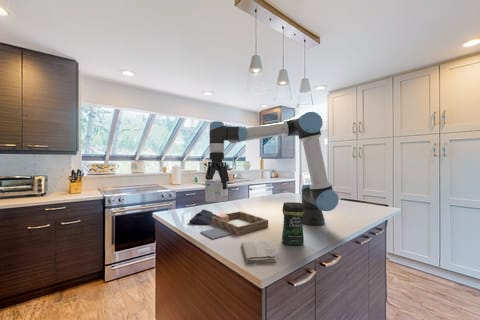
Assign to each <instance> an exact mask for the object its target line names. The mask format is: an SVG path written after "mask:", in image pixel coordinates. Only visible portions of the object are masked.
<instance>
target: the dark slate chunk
mask: <svg viewBox="0 0 480 320" xmlns="http://www.w3.org/2000/svg"><path fill="white" fill-rule="evenodd" d="M213 216H217V214H214V213H213V212H212V211H210V210H207V209H204V208H203V209H202V210H201V211H200V212H198V213H196V214H195V215H194V216H193V217H191V218H190V220H189V221H188V222H189V223H190V224H192V223H193V224H192V225H194V224H196V225H203V226H210V225H212V217H213Z"/></svg>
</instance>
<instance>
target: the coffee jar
mask: <svg viewBox="0 0 480 320" xmlns="http://www.w3.org/2000/svg"><path fill="white" fill-rule="evenodd" d="M281 210H282V214H283V226H282V233H281V235H282V236H281V240H282V241H281V242H282V243H283V244H285V245H287V246H302V245H304V241H305V240H304V229H303V223H302V217H303V214H304V207H303V204H302V202H296V201H295V202H293V201H292V202H290V201H288V202H283V204H282V209H281Z"/></svg>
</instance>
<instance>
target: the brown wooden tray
mask: <svg viewBox="0 0 480 320" xmlns="http://www.w3.org/2000/svg"><path fill="white" fill-rule="evenodd" d="M224 214H225V215H228V216H229V221H232V220H236V219H242V220H245V221H246V222H247V221H248V222H250V223H249V224H244V225H239V226H238V225H235V224H233V223H230V222H229V223H228V222H225V221H223V220H220V219H218V218H217V216H213V217H212V223H211V225H215V226H216V227H217V228H219V227H220V228H223V229H225V230H227V231H229V232H231V233H233V235H237V236H240V235H244V234H248V233H252V232H256V231H259V230H263V229H266V228H269V219H266V218H263V217H260V216H258V215H257V216H256V215H253V214H249V213H246V212H243V211H240V210H239V211H236V212H229V213H224Z"/></svg>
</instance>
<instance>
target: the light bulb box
mask: <svg viewBox="0 0 480 320" xmlns="http://www.w3.org/2000/svg"><path fill="white" fill-rule="evenodd" d="M204 183H205V184H204V187H205V191H204V192H205V193H204V194H205V195H204V197H205V199H204V200H205V202H209V203H210V202H213V203H214V202H216V203H217V202H218V203H220V202H222V203H225V202H227V201H228V197H229V196H228V195H229V194H228V193H229V191H228V189H229V187H228V186H229V185H228V182H227V183H226V196H221V179H213V180H210V179H208V180H207V179H205V182H204Z"/></svg>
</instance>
